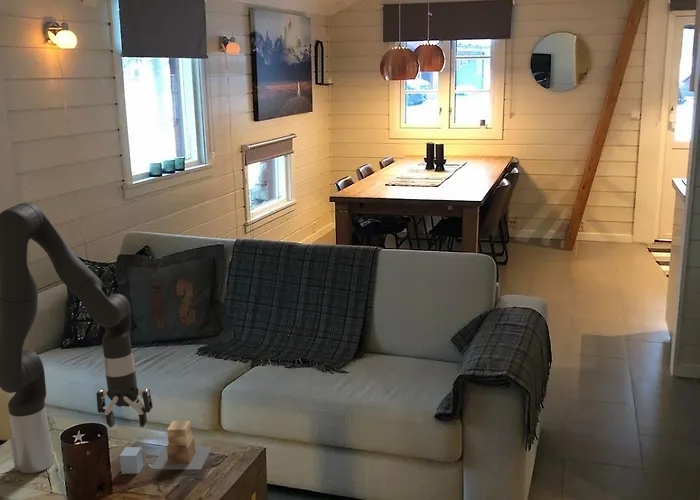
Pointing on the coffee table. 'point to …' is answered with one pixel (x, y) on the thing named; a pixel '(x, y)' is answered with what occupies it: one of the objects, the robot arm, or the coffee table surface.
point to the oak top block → (179, 433)
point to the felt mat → (195, 463)
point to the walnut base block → (181, 452)
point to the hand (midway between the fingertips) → (127, 425)
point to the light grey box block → (131, 460)
